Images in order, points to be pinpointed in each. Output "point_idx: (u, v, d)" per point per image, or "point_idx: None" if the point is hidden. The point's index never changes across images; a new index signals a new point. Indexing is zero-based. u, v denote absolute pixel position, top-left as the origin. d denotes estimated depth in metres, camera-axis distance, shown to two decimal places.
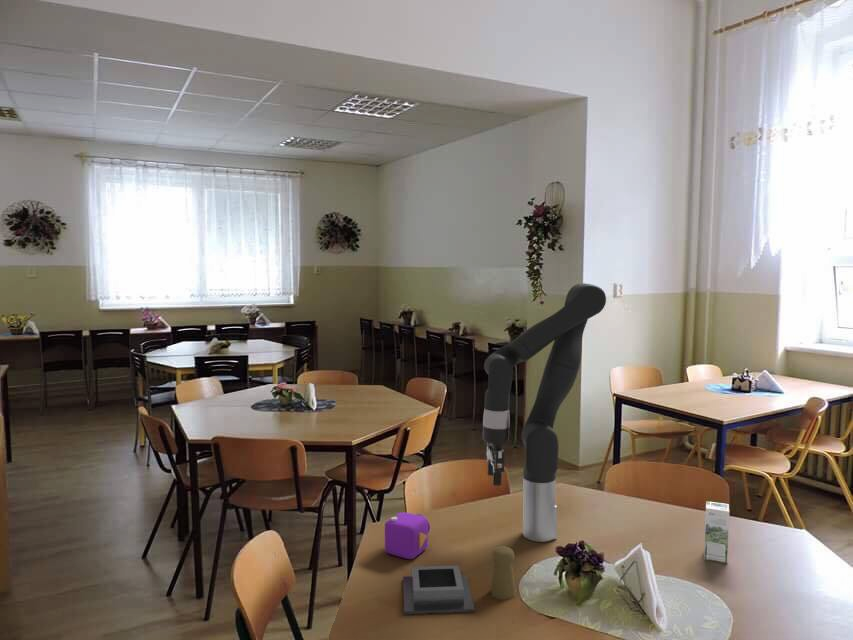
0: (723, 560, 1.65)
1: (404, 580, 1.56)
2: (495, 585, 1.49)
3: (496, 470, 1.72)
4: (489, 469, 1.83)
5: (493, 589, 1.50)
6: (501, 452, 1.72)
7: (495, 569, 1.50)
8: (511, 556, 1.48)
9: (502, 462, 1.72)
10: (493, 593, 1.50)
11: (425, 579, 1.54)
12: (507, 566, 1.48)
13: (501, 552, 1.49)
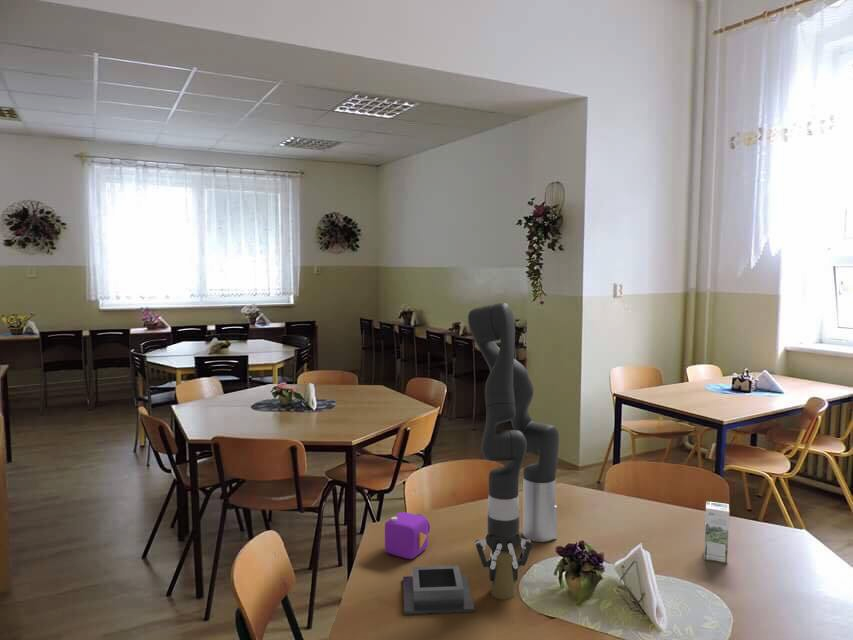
0: (723, 560, 1.65)
1: (404, 580, 1.56)
2: (495, 585, 1.49)
3: None
4: None
5: (493, 589, 1.50)
6: (529, 541, 1.51)
7: None
8: (511, 556, 1.48)
9: None
10: (493, 593, 1.50)
11: (425, 579, 1.54)
12: (507, 566, 1.49)
13: (501, 552, 1.49)
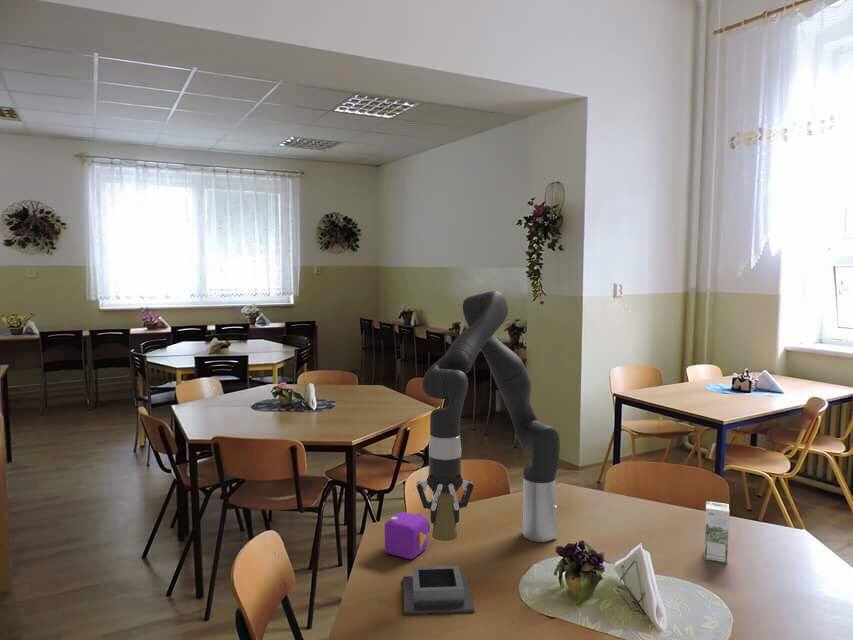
0: (723, 560, 1.65)
1: (404, 580, 1.56)
2: (436, 527, 1.47)
3: (466, 504, 1.47)
4: None
5: (434, 531, 1.47)
6: (471, 483, 1.49)
7: None
8: (452, 497, 1.46)
9: None
10: (434, 535, 1.47)
11: (425, 579, 1.54)
12: (448, 507, 1.46)
13: (442, 493, 1.46)
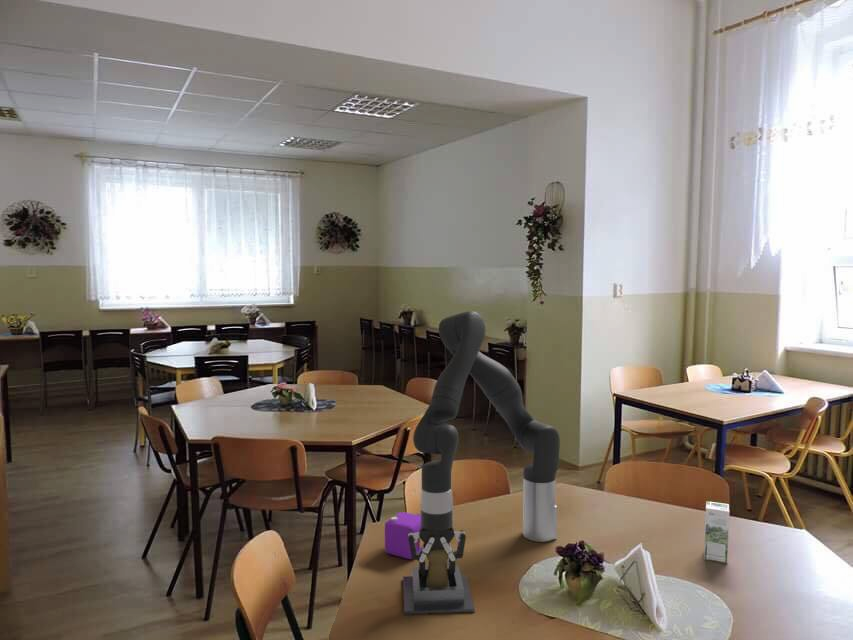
0: (723, 560, 1.65)
1: (404, 580, 1.56)
2: (429, 584, 1.48)
3: (462, 554, 1.49)
4: None
5: None
6: (464, 532, 1.50)
7: (429, 568, 1.49)
8: (445, 554, 1.48)
9: None
10: None
11: (425, 579, 1.54)
12: (440, 565, 1.48)
13: (434, 551, 1.48)
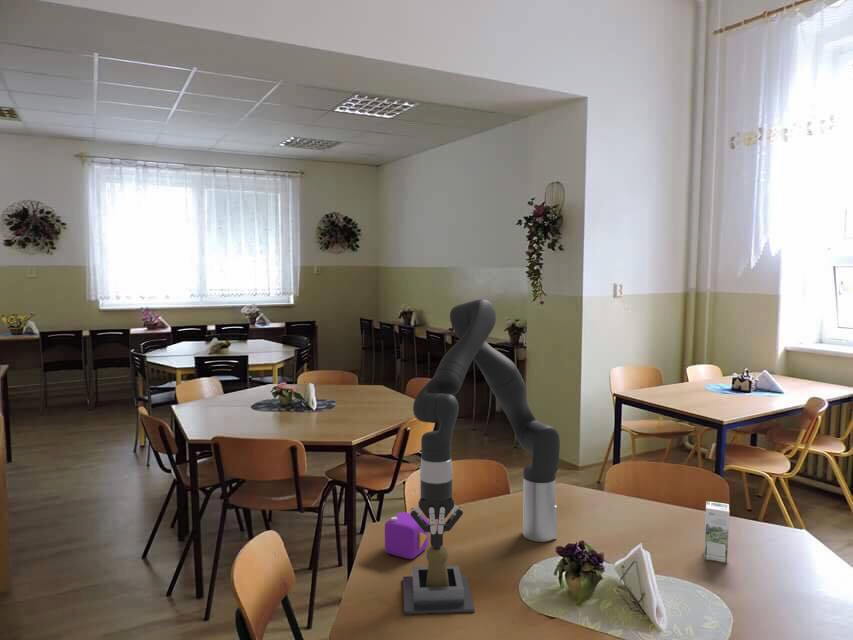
0: (723, 560, 1.65)
1: (404, 580, 1.56)
2: (429, 584, 1.48)
3: None
4: None
5: None
6: None
7: (429, 568, 1.49)
8: (444, 554, 1.48)
9: None
10: None
11: (425, 579, 1.54)
12: (440, 565, 1.48)
13: (434, 551, 1.48)
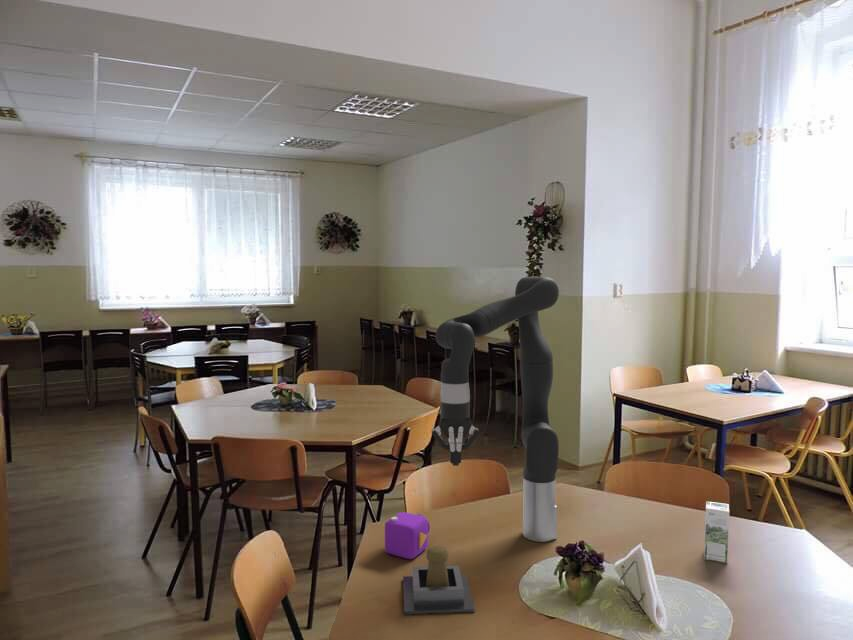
0: (723, 560, 1.65)
1: (404, 580, 1.56)
2: (429, 584, 1.48)
3: None
4: None
5: None
6: None
7: (429, 568, 1.49)
8: (444, 554, 1.48)
9: None
10: None
11: (425, 579, 1.54)
12: (440, 565, 1.48)
13: (434, 551, 1.48)
